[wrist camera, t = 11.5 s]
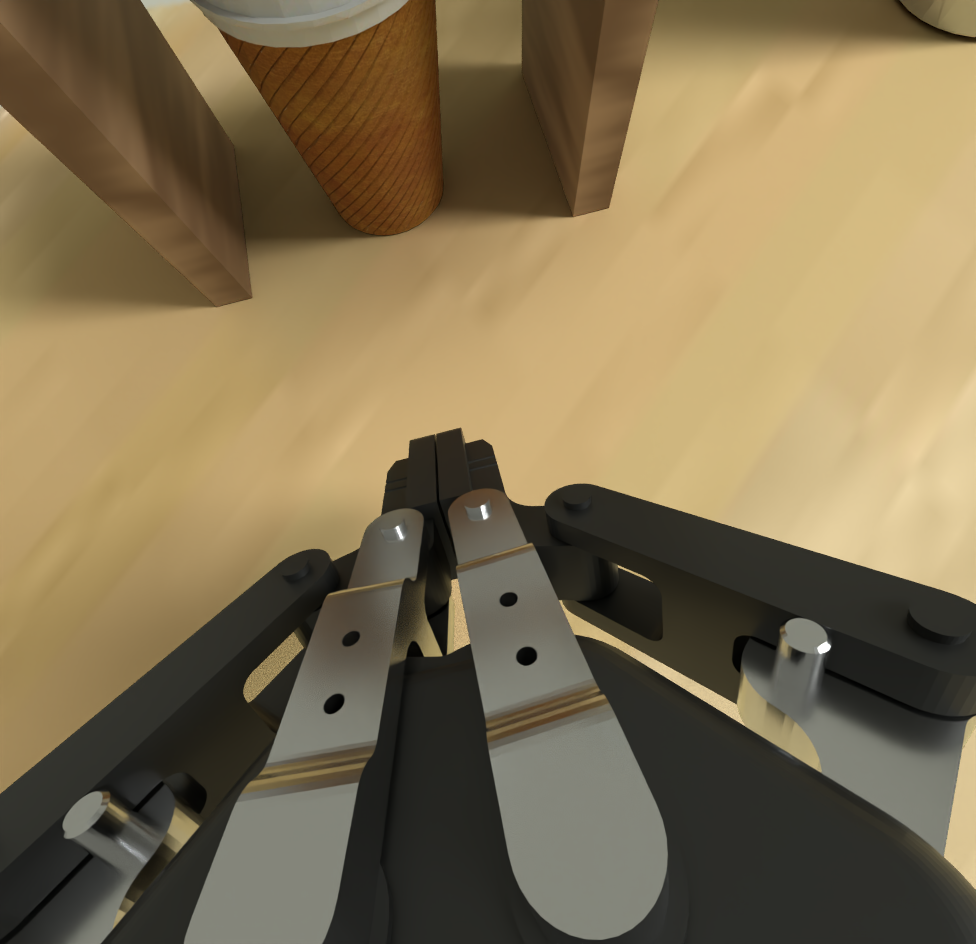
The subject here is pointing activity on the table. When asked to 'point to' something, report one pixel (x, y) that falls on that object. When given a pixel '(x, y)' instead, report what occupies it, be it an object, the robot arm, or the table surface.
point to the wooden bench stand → (210, 153)
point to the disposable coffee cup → (350, 97)
